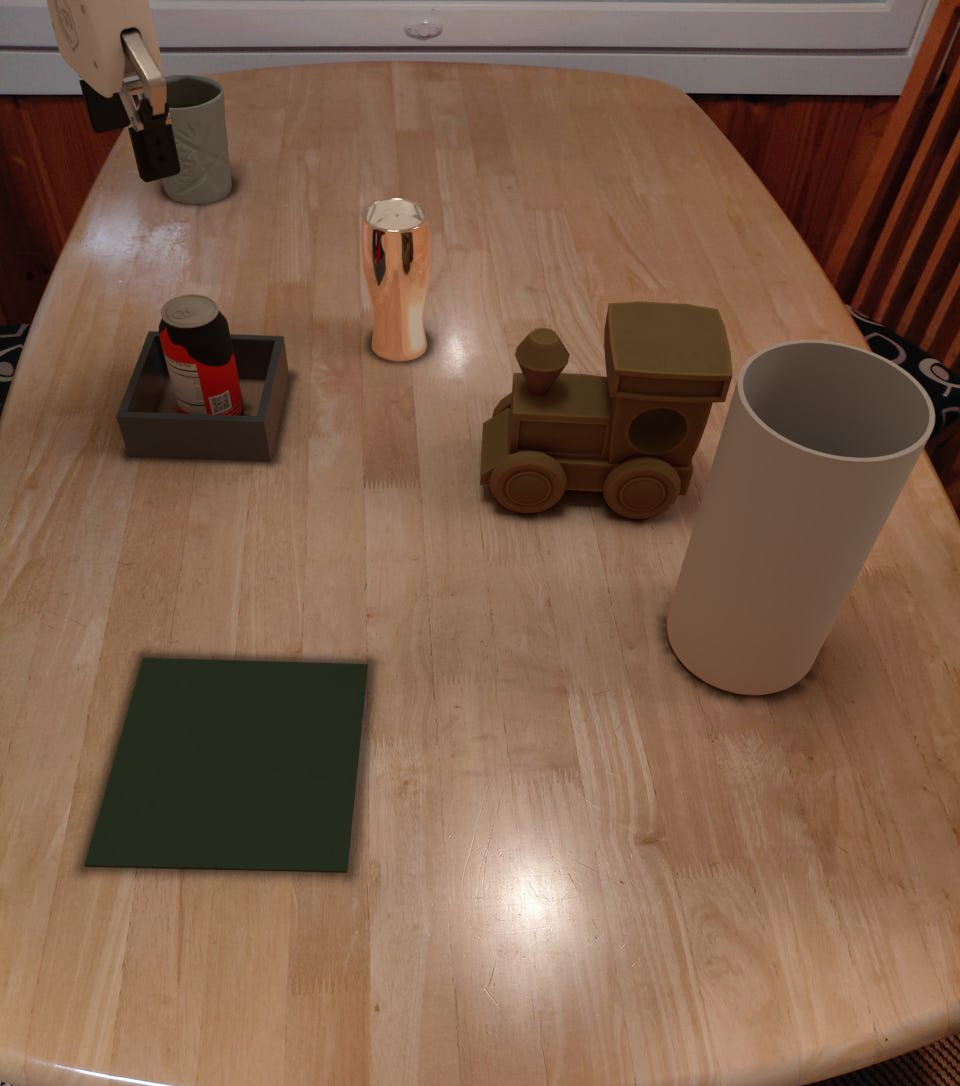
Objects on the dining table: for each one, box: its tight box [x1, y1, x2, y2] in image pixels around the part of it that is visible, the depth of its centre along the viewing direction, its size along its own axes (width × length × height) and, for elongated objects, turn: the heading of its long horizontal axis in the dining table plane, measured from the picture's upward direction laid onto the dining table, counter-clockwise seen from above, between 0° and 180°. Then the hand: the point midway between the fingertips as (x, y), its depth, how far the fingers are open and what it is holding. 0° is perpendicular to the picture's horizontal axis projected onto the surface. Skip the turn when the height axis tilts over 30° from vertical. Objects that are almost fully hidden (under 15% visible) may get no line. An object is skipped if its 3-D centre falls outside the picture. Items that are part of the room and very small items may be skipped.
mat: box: [84, 657, 368, 873], centre depth 72 cm, size 18×18×1 cm
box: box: [115, 330, 290, 463], centre depth 95 cm, size 14×14×5 cm
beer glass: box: [360, 197, 432, 362], centre depth 100 cm, size 7×7×15 cm
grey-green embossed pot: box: [136, 74, 233, 205], centre depth 121 cm, size 10×10×12 cm
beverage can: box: [158, 293, 244, 416], centre depth 92 cm, size 6×6×12 cm
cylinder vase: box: [666, 339, 936, 696], centre depth 72 cm, size 12×12×25 cm
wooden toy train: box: [479, 300, 733, 520], centre depth 86 cm, size 20×11×17 cm, turn 88°
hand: (136, 152), depth 78 cm, fingers open, 9 cm apart
